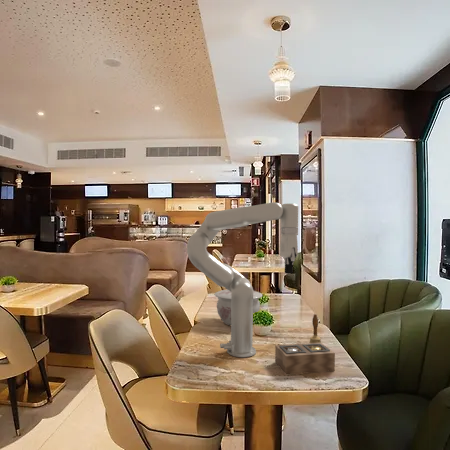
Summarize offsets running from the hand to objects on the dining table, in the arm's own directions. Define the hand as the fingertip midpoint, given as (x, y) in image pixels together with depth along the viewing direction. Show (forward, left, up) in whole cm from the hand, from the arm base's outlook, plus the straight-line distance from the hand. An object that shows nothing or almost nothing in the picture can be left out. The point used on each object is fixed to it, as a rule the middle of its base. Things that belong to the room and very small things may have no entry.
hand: (288, 273), depth 155 cm
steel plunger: (-4, -15, -35) cm, 38 cm away
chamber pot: (-11, +48, -35) cm, 61 cm away
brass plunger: (+6, -15, -35) cm, 39 cm away
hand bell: (+14, +2, -35) cm, 38 cm away
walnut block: (+1, -15, -35) cm, 38 cm away
